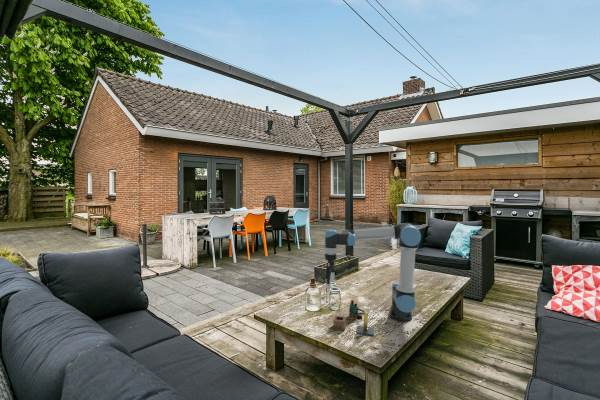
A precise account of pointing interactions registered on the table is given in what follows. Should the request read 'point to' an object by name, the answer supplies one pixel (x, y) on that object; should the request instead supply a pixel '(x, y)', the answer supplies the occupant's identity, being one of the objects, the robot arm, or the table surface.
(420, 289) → the table surface
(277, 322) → the table surface
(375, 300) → the table surface
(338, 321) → the link
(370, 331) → the keeper
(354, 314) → the binoculars
